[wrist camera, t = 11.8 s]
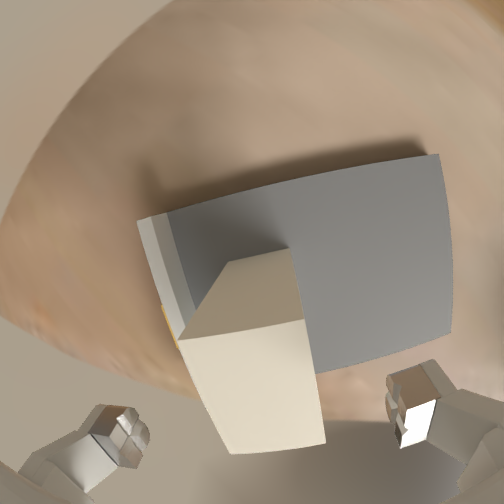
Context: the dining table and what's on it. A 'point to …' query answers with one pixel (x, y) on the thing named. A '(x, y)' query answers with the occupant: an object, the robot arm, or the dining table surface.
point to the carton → (255, 357)
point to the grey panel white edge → (324, 255)
